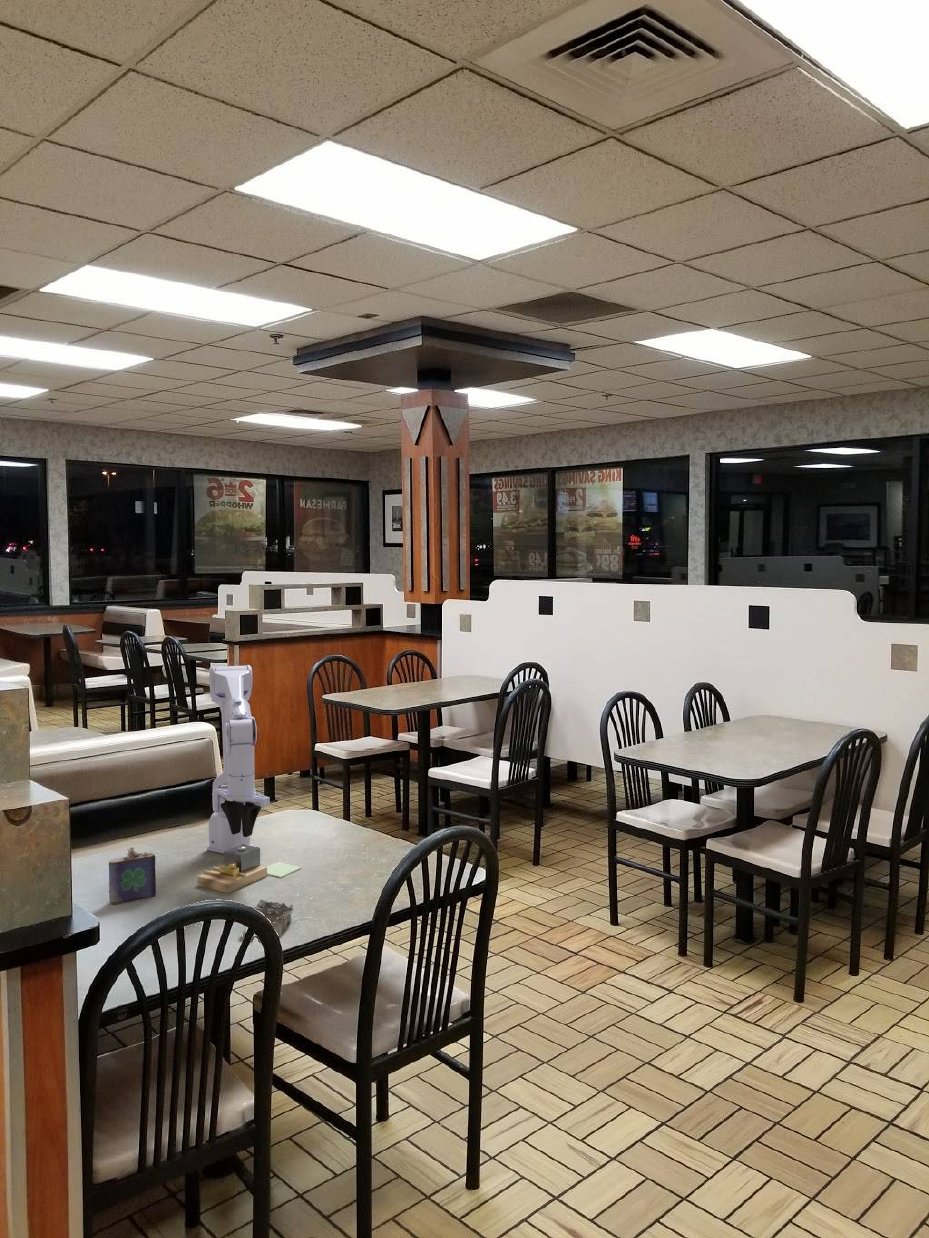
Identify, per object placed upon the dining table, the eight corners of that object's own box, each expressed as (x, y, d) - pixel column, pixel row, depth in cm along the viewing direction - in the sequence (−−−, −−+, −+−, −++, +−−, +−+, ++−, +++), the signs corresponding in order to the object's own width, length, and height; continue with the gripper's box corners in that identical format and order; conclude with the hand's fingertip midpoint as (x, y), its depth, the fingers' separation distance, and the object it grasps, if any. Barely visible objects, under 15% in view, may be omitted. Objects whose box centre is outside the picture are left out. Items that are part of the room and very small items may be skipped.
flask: (110, 905, 191) (109, 854, 190) (107, 901, 193) (106, 850, 192) (157, 897, 196) (156, 847, 195) (154, 893, 198) (153, 843, 197)
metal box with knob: (224, 869, 207) (223, 849, 206) (243, 861, 212) (242, 841, 211) (241, 873, 204) (241, 853, 204) (260, 865, 209) (260, 845, 209)
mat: (256, 872, 211) (256, 870, 211) (277, 863, 217) (277, 861, 217) (280, 877, 207) (280, 876, 207) (301, 868, 213) (301, 867, 213)
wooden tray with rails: (197, 885, 202) (197, 873, 202) (236, 868, 213) (236, 857, 213) (228, 893, 198) (228, 881, 198) (267, 875, 208) (267, 864, 208)
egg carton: (277, 941, 175) (277, 920, 175) (239, 938, 177) (239, 917, 176) (297, 918, 186) (297, 898, 185) (260, 915, 187) (260, 895, 187)
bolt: (219, 875, 203) (219, 862, 202) (224, 873, 204) (224, 860, 204) (233, 878, 201) (233, 866, 201) (238, 876, 202) (238, 863, 202)
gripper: (203, 773, 206) (204, 834, 207) (253, 782, 199) (254, 845, 200) (226, 766, 212) (227, 825, 213) (276, 775, 205) (276, 836, 206)
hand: (241, 834), depth 207 cm, fingers open, 3 cm apart
